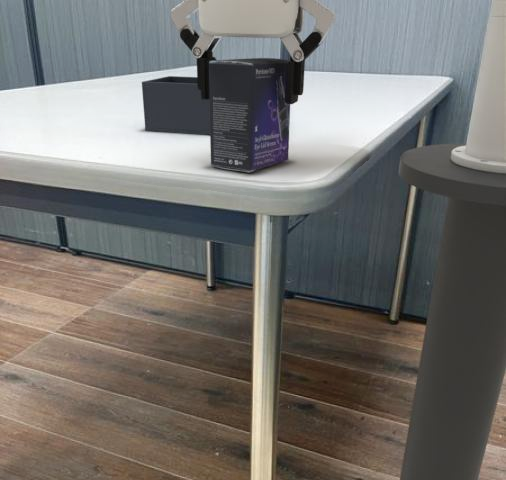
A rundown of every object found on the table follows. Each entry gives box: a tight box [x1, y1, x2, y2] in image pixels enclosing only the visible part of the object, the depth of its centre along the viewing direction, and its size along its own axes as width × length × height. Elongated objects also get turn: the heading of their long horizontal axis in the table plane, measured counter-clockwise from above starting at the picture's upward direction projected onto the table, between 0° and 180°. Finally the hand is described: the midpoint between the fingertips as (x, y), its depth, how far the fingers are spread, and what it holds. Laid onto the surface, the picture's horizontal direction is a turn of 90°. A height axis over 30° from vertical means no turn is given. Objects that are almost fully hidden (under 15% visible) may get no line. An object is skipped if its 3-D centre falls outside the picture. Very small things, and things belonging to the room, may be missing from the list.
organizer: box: [141, 75, 210, 136], centre depth 86 cm, size 11×9×6 cm
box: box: [209, 57, 291, 174], centre depth 64 cm, size 8×6×11 cm
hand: (249, 100), depth 63 cm, fingers open, 8 cm apart
